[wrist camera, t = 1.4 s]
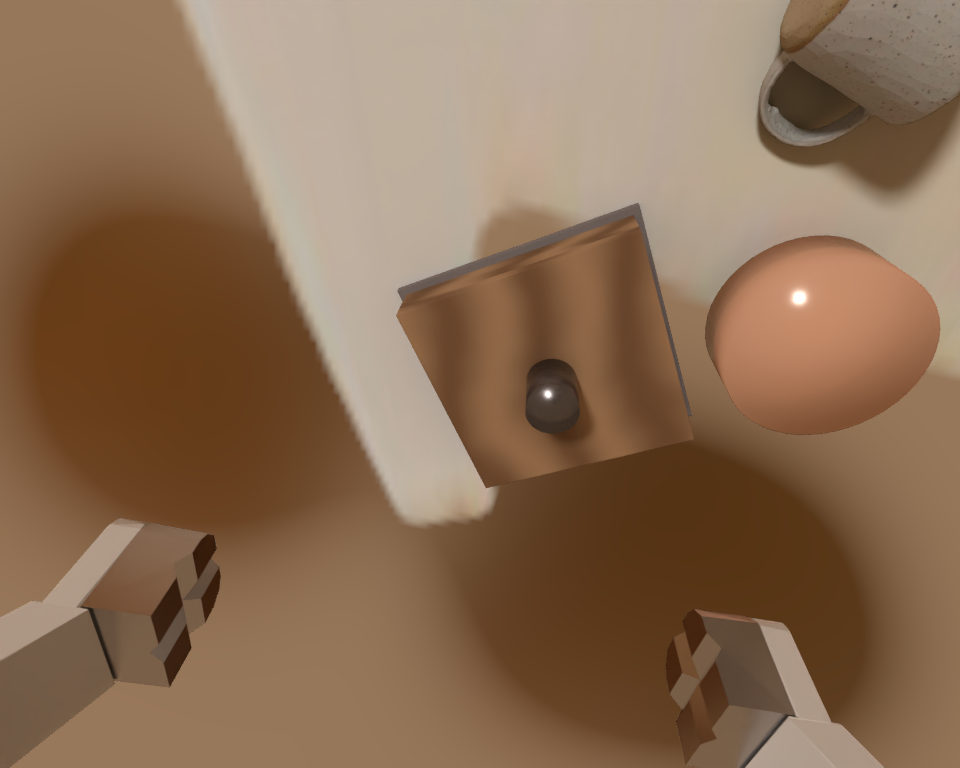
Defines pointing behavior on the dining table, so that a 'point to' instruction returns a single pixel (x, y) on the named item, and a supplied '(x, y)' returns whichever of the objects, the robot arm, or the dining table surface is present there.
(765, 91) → the ceramic mug
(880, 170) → the dining table surface
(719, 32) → the dining table surface
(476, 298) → the lid
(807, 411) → the bowl
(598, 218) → the mat
